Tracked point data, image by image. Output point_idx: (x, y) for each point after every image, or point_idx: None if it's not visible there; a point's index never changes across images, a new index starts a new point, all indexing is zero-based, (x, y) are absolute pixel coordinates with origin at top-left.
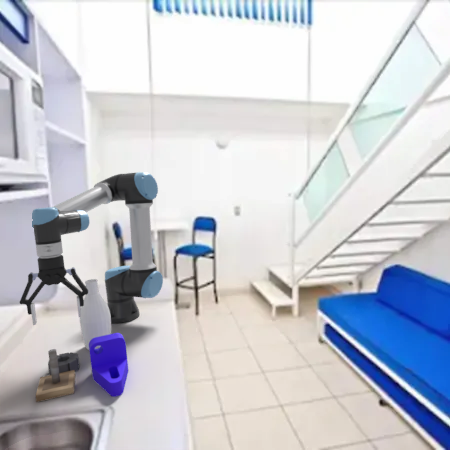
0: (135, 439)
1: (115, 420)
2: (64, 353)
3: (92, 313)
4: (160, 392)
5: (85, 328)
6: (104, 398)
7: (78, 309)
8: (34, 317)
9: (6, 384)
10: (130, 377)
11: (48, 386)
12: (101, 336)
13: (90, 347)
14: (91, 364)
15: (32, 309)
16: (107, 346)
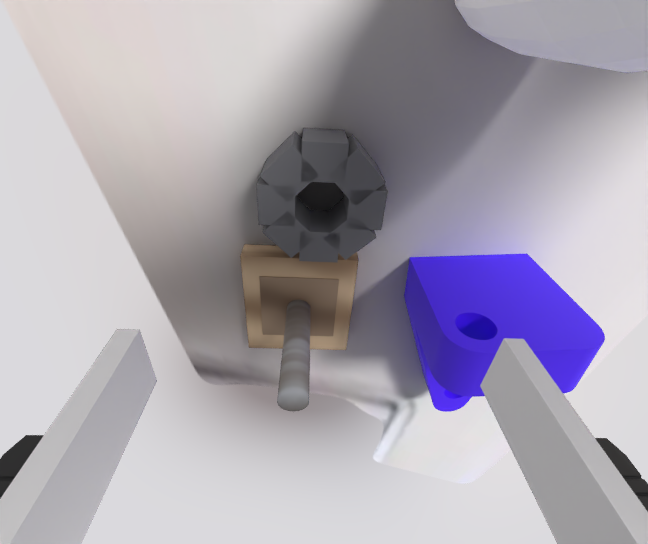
0: (420, 466)
1: (407, 432)
2: (327, 145)
3: None
4: None
5: (515, 19)
6: (408, 377)
7: (517, 450)
8: (126, 441)
9: (108, 191)
10: None
11: (277, 323)
12: None
13: (439, 381)
14: (417, 324)
15: (68, 540)
16: None
